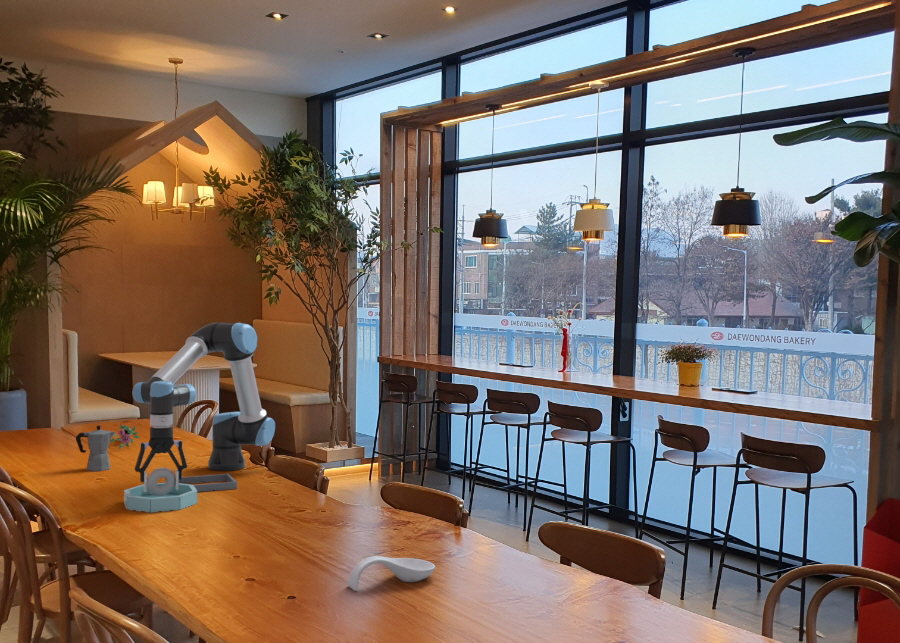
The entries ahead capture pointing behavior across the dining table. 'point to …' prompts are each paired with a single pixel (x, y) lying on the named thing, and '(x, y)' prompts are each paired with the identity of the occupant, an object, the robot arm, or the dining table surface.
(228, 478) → the grey rectangular frame
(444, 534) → the dining table surface
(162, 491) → the donut
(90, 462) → the coffeepot
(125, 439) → the flower vase
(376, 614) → the dining table surface
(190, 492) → the bowl
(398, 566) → the spoon rest
